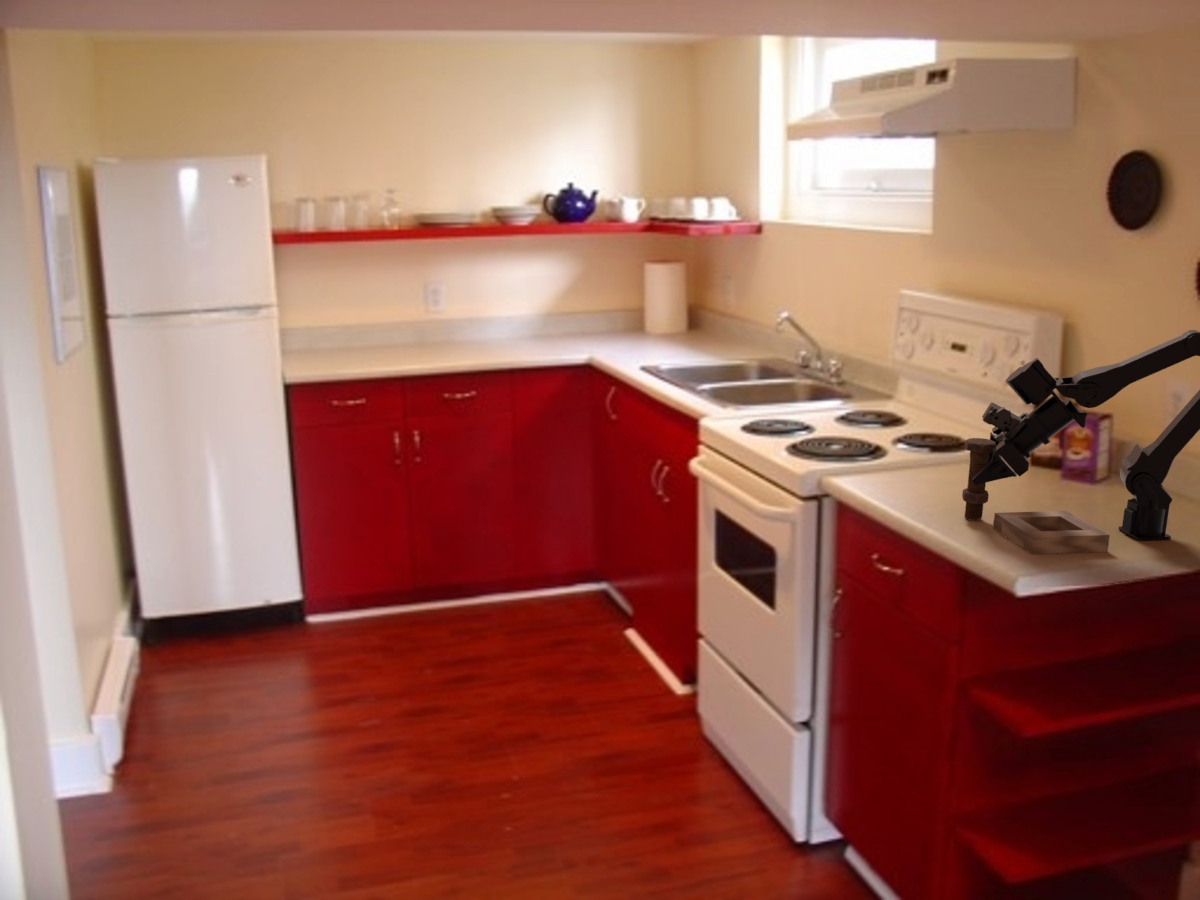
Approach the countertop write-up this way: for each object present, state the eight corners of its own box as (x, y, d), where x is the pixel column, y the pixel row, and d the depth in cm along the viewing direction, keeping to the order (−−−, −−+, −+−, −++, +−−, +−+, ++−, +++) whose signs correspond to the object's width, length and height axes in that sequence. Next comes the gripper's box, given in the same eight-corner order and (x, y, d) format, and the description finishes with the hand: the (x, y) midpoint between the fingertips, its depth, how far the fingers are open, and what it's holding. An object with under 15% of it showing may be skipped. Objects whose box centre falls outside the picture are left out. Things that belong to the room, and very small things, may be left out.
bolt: (989, 524, 212) (997, 445, 208) (961, 522, 213) (968, 444, 209) (984, 515, 218) (992, 438, 214) (957, 513, 219) (964, 436, 215)
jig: (1064, 526, 212) (1066, 510, 211) (1107, 551, 198) (1109, 534, 198) (993, 528, 210) (994, 512, 209) (1031, 554, 196) (1033, 537, 196)
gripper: (1010, 381, 217) (943, 433, 222) (1016, 400, 199) (944, 455, 205) (1049, 425, 217) (982, 476, 222) (1059, 448, 199) (985, 502, 205)
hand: (972, 476), depth 214 cm, fingers open, 9 cm apart
